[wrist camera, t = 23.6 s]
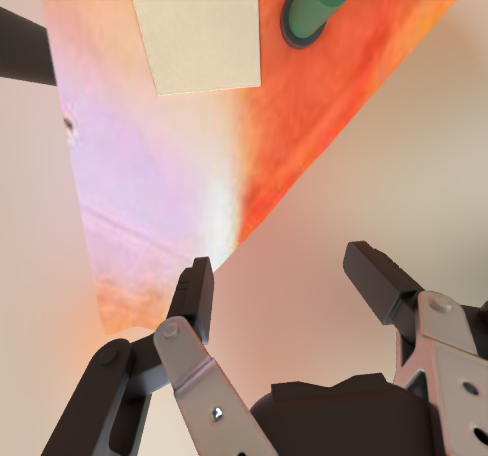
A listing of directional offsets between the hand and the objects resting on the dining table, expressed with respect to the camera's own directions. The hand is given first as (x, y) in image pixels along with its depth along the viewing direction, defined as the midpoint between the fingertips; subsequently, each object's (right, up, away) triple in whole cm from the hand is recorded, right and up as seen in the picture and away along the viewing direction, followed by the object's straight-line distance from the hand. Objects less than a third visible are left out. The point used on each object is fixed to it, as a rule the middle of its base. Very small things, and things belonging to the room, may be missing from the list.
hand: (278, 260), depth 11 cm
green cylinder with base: (+6, +31, +15) cm, 34 cm away
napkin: (-8, +29, +15) cm, 34 cm away
